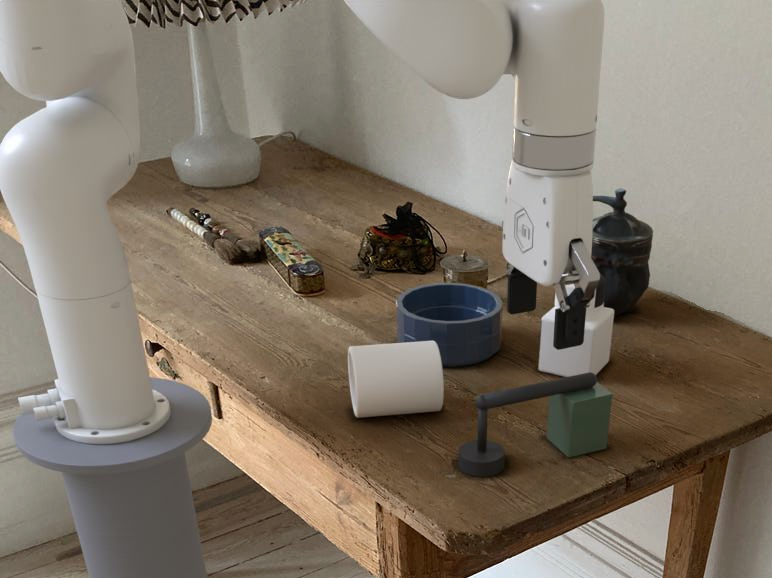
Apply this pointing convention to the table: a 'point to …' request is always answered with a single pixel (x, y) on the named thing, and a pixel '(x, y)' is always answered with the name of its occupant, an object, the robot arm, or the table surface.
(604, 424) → the green rectangular block
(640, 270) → the coffee grinder
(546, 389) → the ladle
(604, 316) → the medicine bottle
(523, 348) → the table surface
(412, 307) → the bowl
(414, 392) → the mug
